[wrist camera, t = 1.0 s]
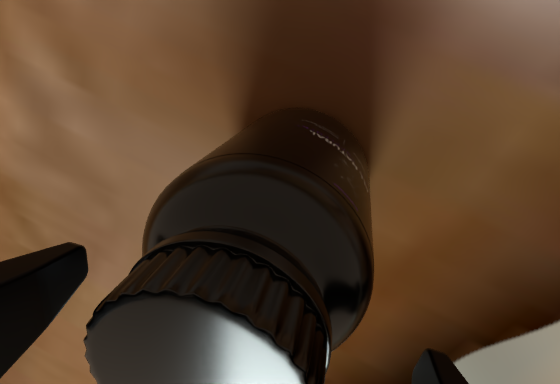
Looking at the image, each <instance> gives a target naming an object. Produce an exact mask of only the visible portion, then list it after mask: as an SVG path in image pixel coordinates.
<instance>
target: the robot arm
mask: <svg viewBox="0 0 560 384" xmlns="http://www.w3.org/2000/svg"><path fill="white" fill-rule="evenodd" d="M87 273H88V262H87V253H86V249H85V247H84V246H82V245H79V244H76V243H72V242H67V243H64V244H60V245H57V246H53V247H50V248H46V249H43V250H40V251H36V252H33V253H29V254H26V255H22V256H19V257H15V258H12V259H9V260H5V261H2V262H0V378H1V377H2V376H3V375H4V374H5V373H6V372H7V371H8V370H9V369H10V367H11V366H12V365H13V364H14V363H15V362H16V361H17V360H18V359H19V358H20V357H21V356H22V354H23V353H24V352H25V351H26V350H27V349H28V348H29V347H30V346H31V345H32V344H33V343H34V341H35V340H36V339H37V338H38V337H39V336H40V335H41V334H42V333H43V332H44V330H45V329H46V328H47V327H48V326H49V324H50V323H51V322H52V321H53V320H54V318H55V317H56V316H57V314H58V313H59V312H60V311H61V309H62V308H63V307H64V305H65V304H66V303H67V301H68V300H69V299H70V298H71V296H72V295H73V294H74V292H75V291H76V290H77V289H78V287H79V286H80V285H81V283H82V282H83V281H84V279H85V278H86V276H87ZM412 384H468V382H467V381H466V380H465V378H464V377H463V376H462V374H461V373H460V372H459V371H458V369H457V368H456V366H455V365H454V364H453V362H452V361H451V360H450V358H449V357H448V356H447V355H446V354H445V353H443V352H441V351H437V350H434V349H431V348H427V349H425V350H424V352H423V353H422V355H421V357H420V359H419V361H418V363H417V364H416V366H415V368H414V371H413V375H412Z"/></svg>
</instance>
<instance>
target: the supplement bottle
mask: <svg viewBox="0 0 560 384" xmlns="http://www.w3.org/2000/svg"><path fill="white" fill-rule="evenodd" d="M373 280H374V255H373V237H372V219H371V202H370V184H369V172H368V165H367V161H366V157H365V155H364V152H363V150H362V148H361V146H360V144H359V142H358V141H357V139H356V137H355V136H354V135H353V134H352V132H351V131H350V130H349V129H348V128H347V127H346V126H344V125H343V124H342V123H341V122H339V121H338V120H336V119H335V118H333V117H331V116H329V115H327V114H325V113H323V112H320V111H316V110H312V109H306V108H288V109H283V110H279V111H275V112H272V113H270V114H268V115H266V116H264V117H262V118H260V119H259V120H257V121H255V122H254V123H252V124H251V125H250V126H248V127H247V128H245V129H244V130H242V131H241V132H240V133H238V134H237V135H235V136H234V137H232V138H231V139H229V140H228V141H227V142H225V143H224V144H222V145H221V146H219V147H218V148H217V149H215V150H214V151H212V152H211V153H209V154H208V155H207V156H205V157H204V158H202V159H201V160H199V161H198V162H197V163H195V164H194V165H192V166H191V167H190V168H188V169H187V170H185V171H184V172H183V173H181V174H180V175H179V176H178V177H177V178H175V179H174V180H173V181H172V182H171V183H170V184H169V185H168V186H167V187H166V188H165V189H164V190H163V191H162V193H161V194H160V195H159V197H158V198H157V200H156V201H155V203H154V205H153V207H152V209H151V211H150V213H149V216H148V219H147V222H146V225H145V229H144V234H143V243H142V258H141V259H140V260H139V261H138V262H137V263H136V264H135V265H134V267H133V268H132V270H131V271H130V273H129V275H128V276H127V277H126V278H125V279H124V280H123V281H122V282H121V283H120V284H119V285H118V286H117V287H116V288H115V289H114V290H113V291H112V292H111V293H110V294H108V295H107V296H106V297H105V298H104V299H103V300H102V301H101V302H100V304H99V305H98V306H97V307H96V309H95V310H94V312H93V317H92V318H91V319H90V320H89V322H88V323H87V325H86V329H87V335H86V337H85V338H84V340H83V341H84V344H85V346H86V349H87V350H86V353H85V357H86V359H87V361H88V363H89V365H90V373H91V374H92V375H93V377H94V378H95V379H96V381H97V384H324V381H325V374H326V372H327V369H328V366H329V362H330V357H331V352H332V351H333V350H335V349H336V348H337V347H339V346H340V345H341V344H342V343H343V342H344V341H345V340H346V339H347V338H348V337H349V336H350V335H351V334H352V333H353V332H354V330H355V329H356V328H357V326H358V325H359V323H360V322H361V320H362V318H363V317H364V315H365V313H366V311H367V308H368V305H369V302H370V299H371V295H372V290H373Z"/></svg>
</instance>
